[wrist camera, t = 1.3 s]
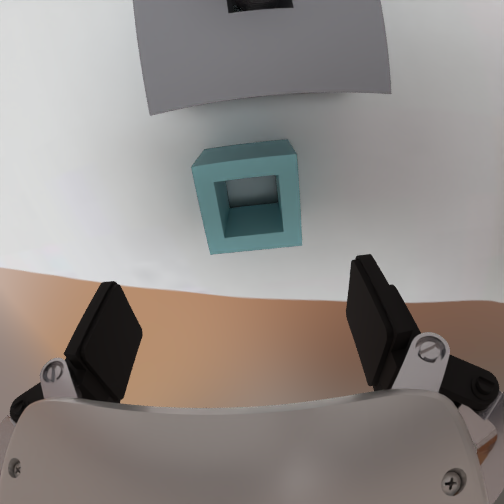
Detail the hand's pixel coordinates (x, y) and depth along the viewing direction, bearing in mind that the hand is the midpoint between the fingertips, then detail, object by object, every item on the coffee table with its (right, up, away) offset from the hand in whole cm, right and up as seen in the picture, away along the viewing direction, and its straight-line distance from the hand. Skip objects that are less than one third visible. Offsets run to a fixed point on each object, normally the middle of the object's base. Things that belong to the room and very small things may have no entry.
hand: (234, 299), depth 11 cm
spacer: (+1, +7, +11) cm, 14 cm away
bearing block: (+1, +18, +4) cm, 19 cm away
